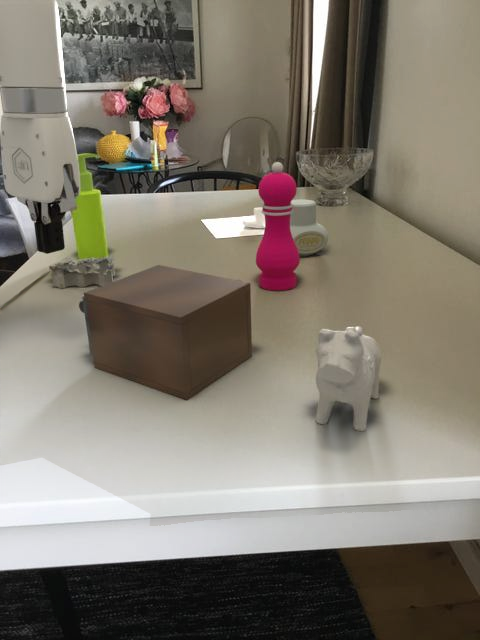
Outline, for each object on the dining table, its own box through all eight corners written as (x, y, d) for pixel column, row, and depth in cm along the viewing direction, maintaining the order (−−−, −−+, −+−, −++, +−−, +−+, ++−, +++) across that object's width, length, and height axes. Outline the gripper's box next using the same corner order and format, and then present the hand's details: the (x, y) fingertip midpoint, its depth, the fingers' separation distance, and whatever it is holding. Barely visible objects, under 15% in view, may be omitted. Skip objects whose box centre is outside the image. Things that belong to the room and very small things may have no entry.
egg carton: (49, 289, 96) (45, 266, 94) (59, 276, 103) (55, 254, 101) (112, 286, 96) (109, 263, 95) (118, 273, 103) (115, 251, 102)
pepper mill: (293, 276, 99) (294, 158, 91) (304, 290, 92) (306, 163, 85) (252, 279, 98) (250, 160, 90) (261, 293, 91) (259, 166, 83)
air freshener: (316, 244, 118) (317, 196, 114) (334, 254, 111) (336, 203, 107) (267, 250, 115) (266, 200, 111) (282, 260, 108) (282, 208, 104)
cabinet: (94, 367, 68) (83, 292, 65) (164, 331, 78) (158, 264, 74) (186, 400, 61) (180, 317, 57) (252, 356, 70) (250, 282, 66)
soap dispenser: (118, 255, 114) (106, 153, 107) (88, 263, 110) (74, 157, 102) (102, 250, 118) (89, 151, 110) (72, 258, 113) (57, 155, 106)
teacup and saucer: (245, 231, 130) (245, 213, 129) (237, 223, 138) (237, 207, 136) (281, 228, 132) (281, 210, 131) (272, 221, 139) (272, 204, 138)
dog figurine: (301, 444, 53) (303, 340, 49) (334, 380, 64) (337, 291, 60) (358, 455, 51) (365, 348, 47) (382, 388, 62) (388, 297, 58)
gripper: (-30, 102, 70) (-7, 247, 77) (48, 107, 62) (65, 267, 69) (23, 101, 75) (39, 236, 82) (100, 105, 67) (111, 254, 75)
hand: (51, 250), depth 76 cm, fingers closed
